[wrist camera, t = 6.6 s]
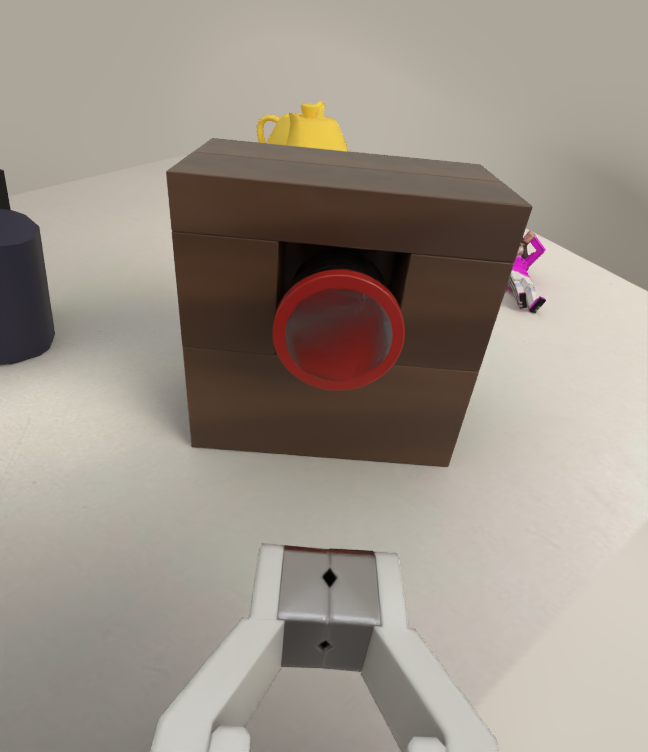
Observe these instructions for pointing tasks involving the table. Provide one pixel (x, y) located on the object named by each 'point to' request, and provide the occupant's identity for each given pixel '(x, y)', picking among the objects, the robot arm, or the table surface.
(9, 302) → the speaker
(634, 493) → the table surface
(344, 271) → the knob
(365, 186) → the control box
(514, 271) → the character figurine
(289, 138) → the teapot
